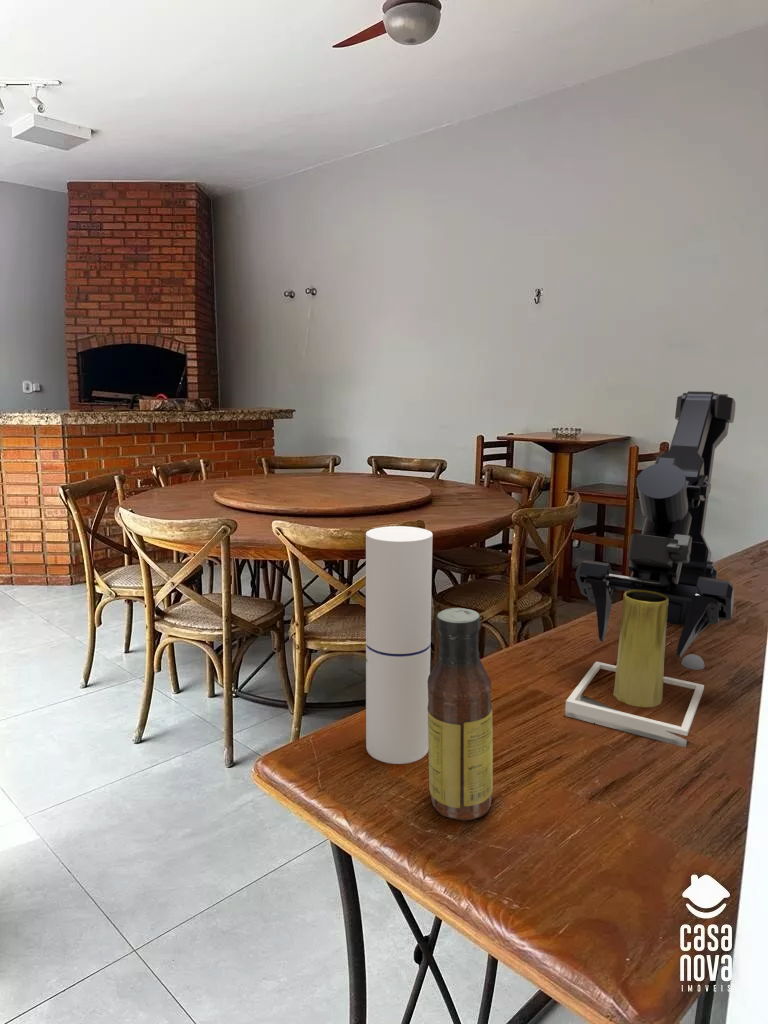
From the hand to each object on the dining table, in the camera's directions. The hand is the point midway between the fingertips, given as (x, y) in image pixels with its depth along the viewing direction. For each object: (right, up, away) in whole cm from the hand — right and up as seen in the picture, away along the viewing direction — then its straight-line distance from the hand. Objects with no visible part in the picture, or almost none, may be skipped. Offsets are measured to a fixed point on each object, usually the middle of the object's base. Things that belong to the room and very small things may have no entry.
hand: (638, 648), depth 85 cm
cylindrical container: (-30, -10, -7) cm, 32 cm away
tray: (+1, -8, +3) cm, 9 cm away
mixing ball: (+12, -5, +12) cm, 18 cm away
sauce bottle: (-24, -12, -17) cm, 32 cm away
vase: (+1, -8, +3) cm, 8 cm away
